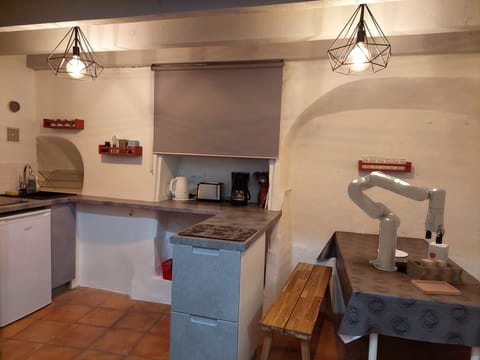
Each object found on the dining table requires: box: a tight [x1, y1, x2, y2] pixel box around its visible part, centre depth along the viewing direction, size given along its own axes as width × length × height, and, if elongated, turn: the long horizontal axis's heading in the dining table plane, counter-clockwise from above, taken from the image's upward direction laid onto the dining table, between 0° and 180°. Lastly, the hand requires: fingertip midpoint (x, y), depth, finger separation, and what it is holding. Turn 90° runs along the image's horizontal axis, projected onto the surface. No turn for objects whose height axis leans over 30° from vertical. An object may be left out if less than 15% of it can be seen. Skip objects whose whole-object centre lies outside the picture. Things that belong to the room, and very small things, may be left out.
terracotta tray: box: [410, 279, 462, 296], centre depth 166 cm, size 18×13×2 cm
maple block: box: [420, 258, 447, 267], centre depth 180 cm, size 12×4×6 cm, turn 89°
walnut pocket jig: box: [406, 258, 464, 285], centre depth 180 cm, size 22×14×8 cm, turn 89°
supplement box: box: [427, 241, 450, 261], centre depth 197 cm, size 9×9×15 cm
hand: (433, 241), depth 178 cm, fingers open, 9 cm apart
